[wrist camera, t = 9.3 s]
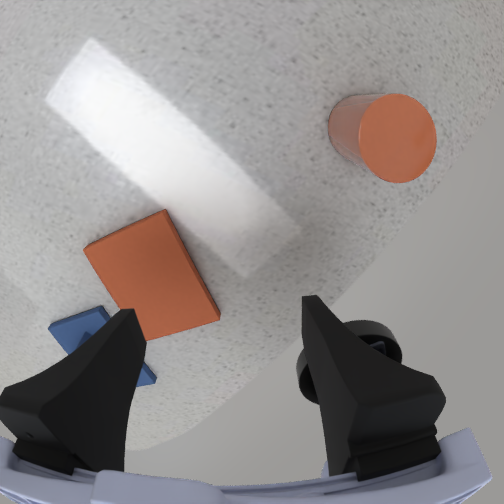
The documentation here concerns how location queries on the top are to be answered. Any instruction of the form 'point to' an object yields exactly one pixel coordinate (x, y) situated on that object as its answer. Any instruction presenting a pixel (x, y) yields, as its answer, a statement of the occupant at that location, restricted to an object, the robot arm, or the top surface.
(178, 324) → the terracotta mat
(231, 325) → the top surface
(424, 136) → the terracotta cylinder
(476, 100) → the top surface
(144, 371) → the blue mat
